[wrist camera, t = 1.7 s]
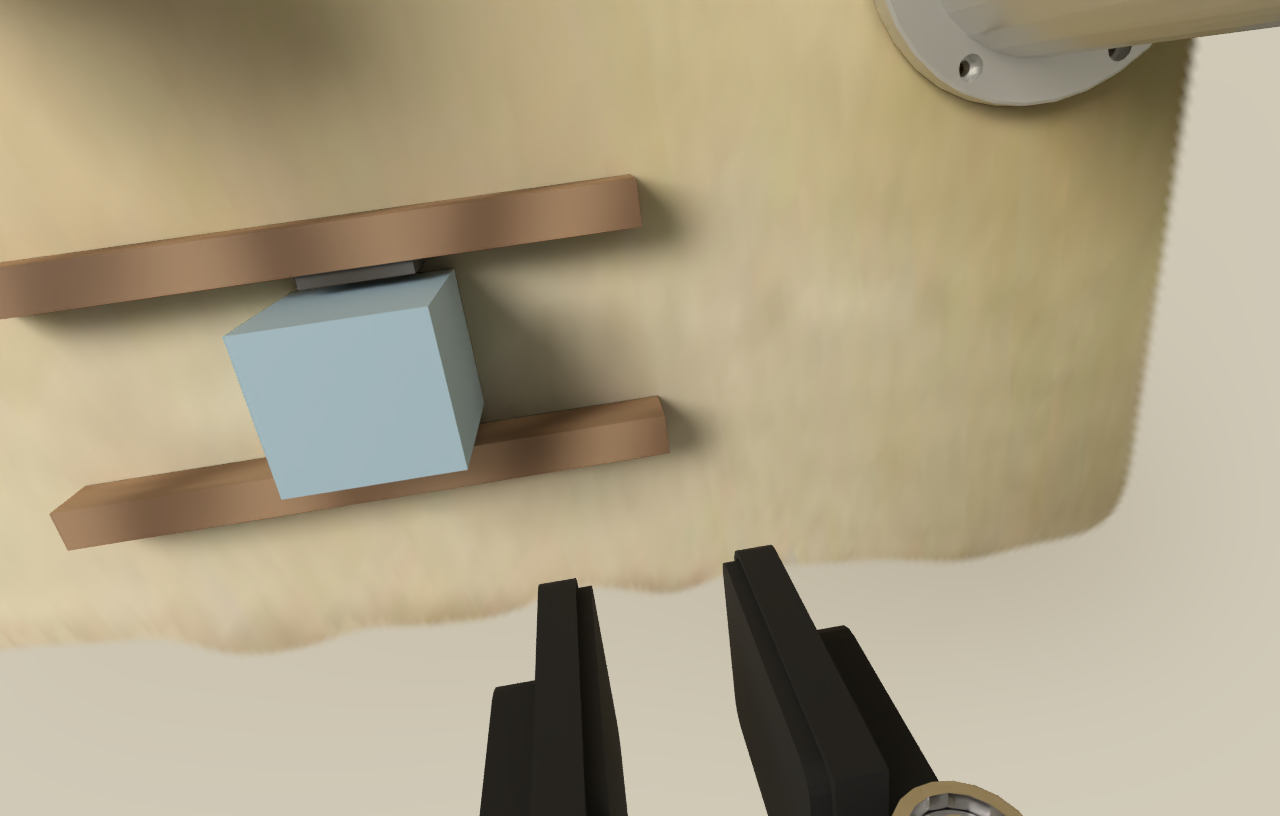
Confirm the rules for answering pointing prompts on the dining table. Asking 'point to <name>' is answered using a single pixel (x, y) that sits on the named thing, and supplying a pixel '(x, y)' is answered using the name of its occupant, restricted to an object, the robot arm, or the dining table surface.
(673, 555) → the dining table surface
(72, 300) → the chute
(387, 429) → the block
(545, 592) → the robot arm
